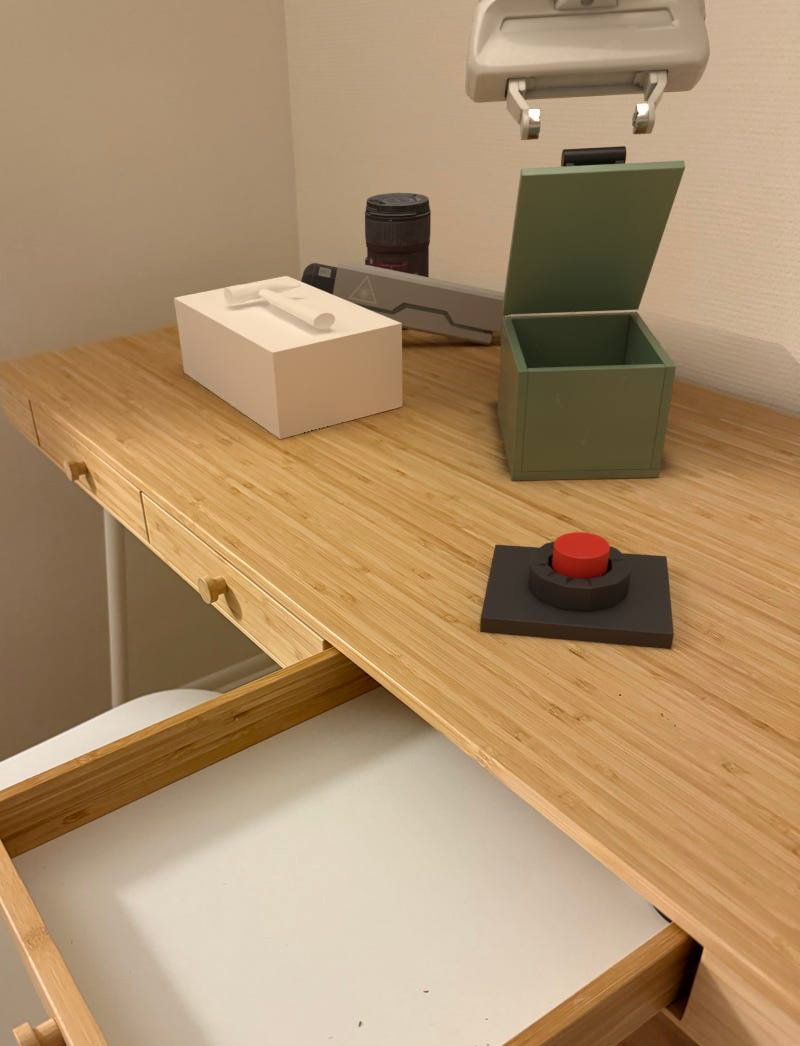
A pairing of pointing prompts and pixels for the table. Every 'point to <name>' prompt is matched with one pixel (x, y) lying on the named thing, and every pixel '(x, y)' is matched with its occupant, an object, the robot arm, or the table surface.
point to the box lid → (588, 232)
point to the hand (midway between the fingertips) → (587, 132)
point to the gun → (414, 299)
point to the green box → (583, 396)
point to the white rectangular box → (291, 354)
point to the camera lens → (398, 232)
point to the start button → (580, 555)
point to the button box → (579, 599)
